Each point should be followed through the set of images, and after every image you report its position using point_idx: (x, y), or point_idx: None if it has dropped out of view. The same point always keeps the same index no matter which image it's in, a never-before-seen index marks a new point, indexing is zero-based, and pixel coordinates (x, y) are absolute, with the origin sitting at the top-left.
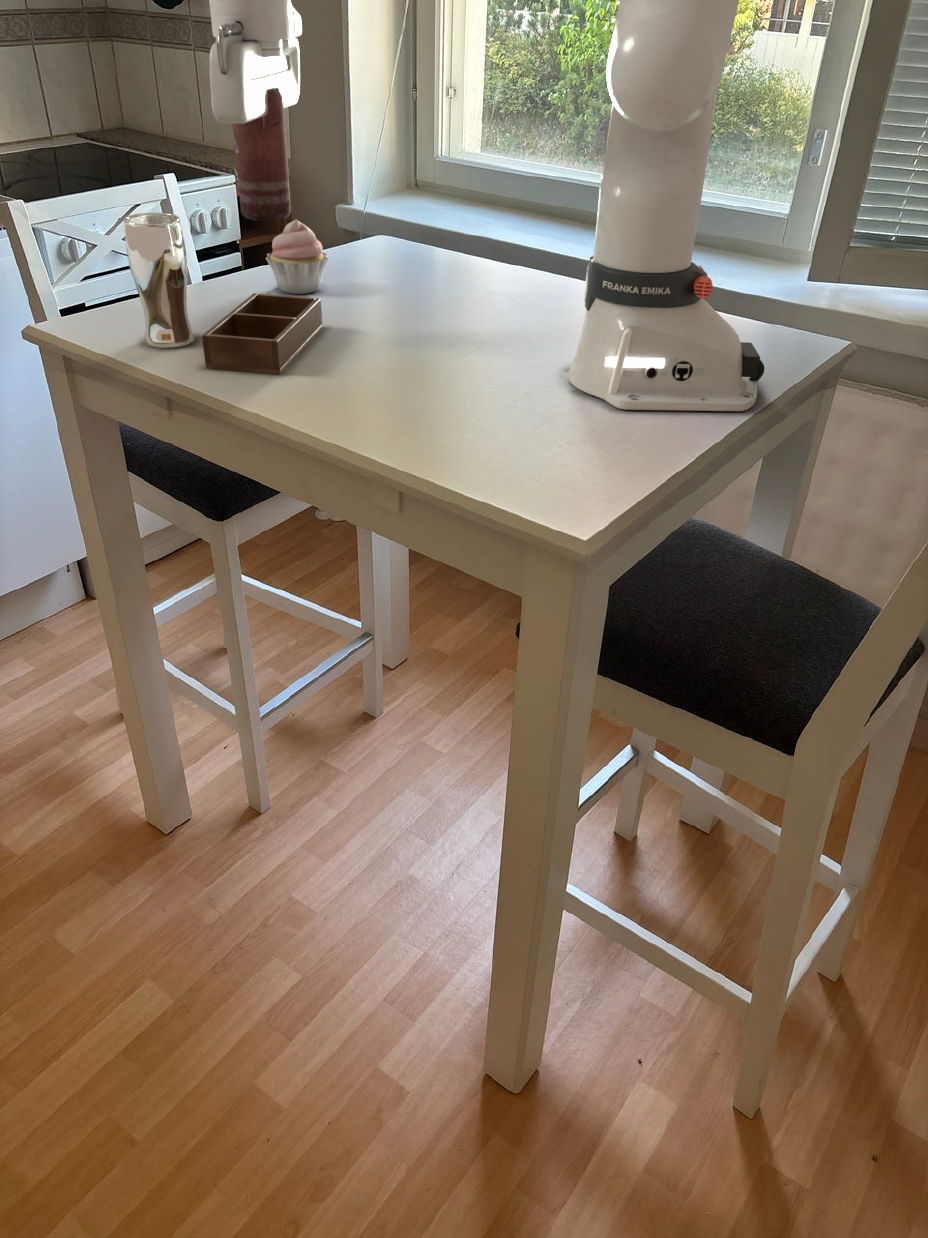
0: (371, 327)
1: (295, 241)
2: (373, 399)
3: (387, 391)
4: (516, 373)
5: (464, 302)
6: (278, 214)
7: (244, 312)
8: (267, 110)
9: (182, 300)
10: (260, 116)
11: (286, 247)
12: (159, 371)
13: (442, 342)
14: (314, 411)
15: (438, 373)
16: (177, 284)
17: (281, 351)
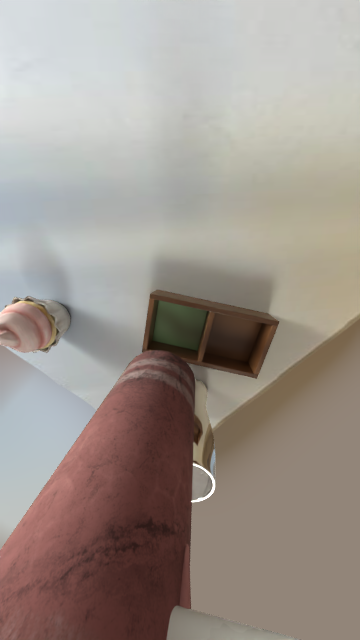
0: (148, 245)
1: (32, 331)
2: (337, 231)
3: (320, 219)
4: (290, 62)
5: (54, 141)
6: (187, 365)
7: (178, 353)
8: (169, 637)
9: (197, 402)
10: (259, 634)
11: (42, 338)
12: (252, 390)
13: (188, 165)
14: (354, 280)
15: (279, 167)
16: (203, 414)
17: (267, 316)
